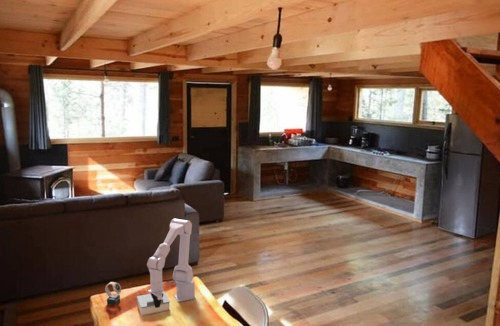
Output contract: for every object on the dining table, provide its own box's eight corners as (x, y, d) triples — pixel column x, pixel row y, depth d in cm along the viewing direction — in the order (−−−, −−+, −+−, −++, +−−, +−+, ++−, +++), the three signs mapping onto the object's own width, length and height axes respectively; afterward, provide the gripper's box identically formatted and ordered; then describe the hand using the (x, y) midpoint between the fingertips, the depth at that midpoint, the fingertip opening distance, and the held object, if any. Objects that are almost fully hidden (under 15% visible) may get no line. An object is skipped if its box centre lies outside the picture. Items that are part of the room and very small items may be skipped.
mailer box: (164, 299, 221) (164, 292, 220) (169, 310, 210) (169, 302, 209) (137, 304, 215) (137, 297, 214) (141, 316, 204) (141, 308, 204)
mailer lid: (164, 291, 220) (164, 287, 220) (169, 302, 209) (169, 298, 209) (136, 297, 214) (136, 293, 214) (140, 308, 203) (140, 304, 203)
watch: (118, 305, 214) (117, 285, 213) (104, 304, 216) (102, 284, 214) (123, 300, 220) (122, 281, 218) (109, 299, 221) (108, 279, 219)
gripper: (145, 276, 204) (146, 301, 207) (151, 288, 191) (152, 315, 193) (159, 273, 207) (160, 299, 209) (166, 285, 194) (166, 312, 196)
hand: (157, 306), depth 202 cm, fingers closed
